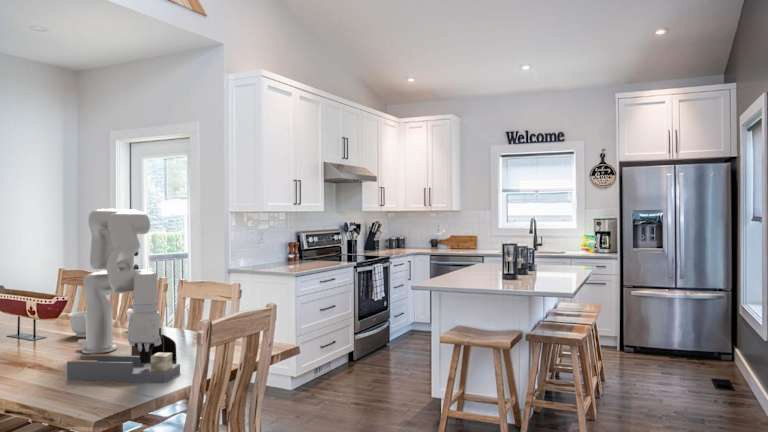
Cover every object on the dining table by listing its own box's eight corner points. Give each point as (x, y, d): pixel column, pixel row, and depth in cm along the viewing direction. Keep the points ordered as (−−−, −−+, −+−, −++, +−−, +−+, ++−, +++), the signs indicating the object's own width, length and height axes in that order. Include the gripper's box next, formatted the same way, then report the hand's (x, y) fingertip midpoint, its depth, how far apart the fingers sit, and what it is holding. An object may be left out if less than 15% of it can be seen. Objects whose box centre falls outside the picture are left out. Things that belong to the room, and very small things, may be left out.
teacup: (71, 341, 238) (71, 317, 238) (65, 334, 250) (65, 312, 250) (102, 337, 246) (102, 314, 246) (95, 331, 258) (95, 309, 257)
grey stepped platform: (63, 381, 183) (63, 362, 182) (85, 370, 195) (85, 352, 194) (164, 383, 181) (164, 364, 181) (180, 372, 193) (180, 354, 193)
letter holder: (149, 368, 198) (149, 329, 198) (131, 357, 213) (130, 321, 213) (177, 363, 205) (177, 325, 205) (157, 353, 220) (157, 317, 220)
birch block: (150, 371, 184) (150, 356, 184) (158, 366, 189) (158, 352, 189) (165, 371, 184) (165, 356, 184) (172, 367, 189) (172, 352, 189)
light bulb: (132, 331, 257) (132, 308, 257) (123, 330, 260) (123, 306, 260) (144, 329, 262) (144, 306, 262) (136, 327, 266) (136, 304, 266)
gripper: (118, 310, 184) (117, 365, 184) (162, 310, 183) (161, 366, 183) (129, 306, 191) (129, 358, 192) (171, 306, 191) (171, 359, 191)
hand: (145, 362), depth 187 cm, fingers closed
